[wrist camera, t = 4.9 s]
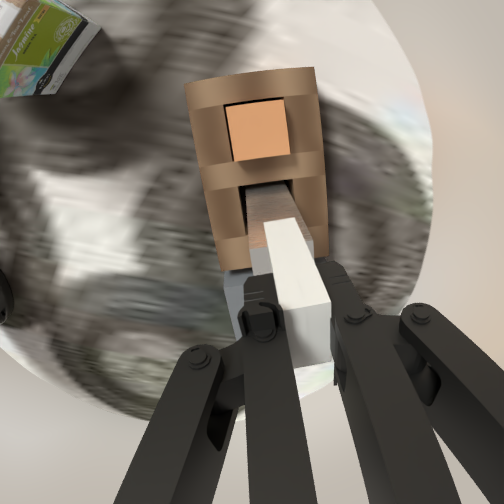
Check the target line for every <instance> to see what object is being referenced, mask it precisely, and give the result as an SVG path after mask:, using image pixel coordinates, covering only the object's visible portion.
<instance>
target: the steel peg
mask: <svg viewBox="0 0 504 504" xmlns="http://www.w3.org/2000/svg"><path fill="white" fill-rule="evenodd" d="M245 188H246V205H247V221H248V238H249V251H250V257H251V263H252V269H253V275H254V276H256V275H262V274H268V273H272V272H271V266H270V260H269V253H268V247H267V241H266V235H265V229H264V223H263V222H269V221H275V220H281V219H287V218H293V217H294V218H295V220H296V222H297V224H298V226H299V229H300V231H301V233H302V235H303V238H304V240H305V242H306V244H307V247H308V249H309V251H310V253H311V256H312V258H313V260H314V246H313V239H312V237H311V235H310V233H309V230H308V228H307V226H306V224H305V222H304V220H303V218H302V216H301V214H300V212H299V210H298V208H297V206H296V204H295V202H294V200H293V198H292V196H291V194H290V192H289V191H288V189H287V187H286V185H285V183H284V181H283V180H279V181H271V182H264V183H257V184H250V185H245Z"/></svg>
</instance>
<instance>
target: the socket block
mask: <svg viewBox="0 0 504 504" xmlns="http://www.w3.org/2000/svg"><path fill="white" fill-rule="evenodd" d="M184 88H185V94H186V100H187V105H188V111H189V116H190V122H191V127H192V133H193V138H194V143H195V148H196V154H197V159H198V164H199V169H200V174H201V179H202V184H203V189H204V194H205V199H206V203H207V208H208V213H209V218H210V222H211V227H212V232H213V236H214V241H215V245H216V250H217V254H218V259H219V263H220V268H221V271H229V270H236V269H243V268H250V267H252V263H251V257H250V251H249V238H248V221H245V217H244V211H243V205H242V199H241V193H240V187H239V186H243V185H250V184H257V183H264V182H271V181H279V180H286V179H288V185H289V192H290V194H291V196H292V198H293V200H294V202H295V204H296V206H297V208H298V210H299V212H300V214H301V216H302V218H303V220H304V222H305V224H306V226H307V228H308V230H309V233H310V235H311V237H312V239H313V246H314V258H319V257H325V256H329V237H328V211H327V192H326V177H325V163H324V150H323V139H322V129H321V119H320V110H319V101H318V93H317V85H316V78H315V70H314V67H301V68H287V69H275V70H265V71H257V72H249V73H241V74H235V75H228V76H222V77H216V78H211V79H205V80H200V81H195V82H190V83H186V84H184ZM274 97H279V100H284V107H285V114H286V122H287V130H288V138H289V147H290V154H287V155H279V156H271V157H263V158H256V159H249V160H242V161H236V162H235V161H234V155H233V150H232V144H231V138H230V132H229V126H228V120H227V114H226V108H225V104H229V103H236V102H242V101H250V100H257V99H265V98H274Z"/></svg>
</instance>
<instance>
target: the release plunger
mask: <svg viewBox="0 0 504 504" xmlns="http://www.w3.org/2000/svg"><path fill="white" fill-rule="evenodd" d="M226 112H227V118H228V124H229V130H230V136H231V142H232V149H233V155H234V161H235V162H236V161H242V160H249V159H256V158H263V157H271V156H279V155H287V154H290V147H289V138H288V130H287V122H286V114H285V107H284V100H272V101H264V102H256V103H248V104H241V105H235V106H228V107H226Z"/></svg>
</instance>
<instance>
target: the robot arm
mask: <svg viewBox="0 0 504 504" xmlns="http://www.w3.org/2000/svg"><path fill="white" fill-rule="evenodd" d="M263 223H264V229H265V235H266V241H267V247H268V253H269V260H270V266H271V272H272V273H268V274H262V275H256V276H250V277H248V278H247V280H246V281H245V283H244V285H243V290H244V306H243V307H242V308H241V309H240V311H239V312H238V316H237V319H238V323H239V326H240V330H241V334H242V337H241V338H240V339H239V340H238V341H237V342H235V343H234V344H232V345H230V346H228V347H226V348H223V349H221V350H218V349H216V348H215V347H213V346H211V345H206V344H204V345H196V346H193V347H191V348H189V349H187V350H186V351H185V352H183V354H182V355H181V356H180V358H179V359H178V362H177V364H176V366H175V368H174V370H173V372H172V374H171V376H170V379H169V381H168V383H167V385H166V387H165V389H164V391H163V394H162V396H161V398H160V400H159V402H158V404H157V407H156V409H155V411H154V413H153V415H152V418H151V420H150V422H149V424H148V427H147V428H146V431H145V433H144V435H143V437H142V440H141V442H140V444H139V446H138V449H137V451H136V453H135V455H134V457H133V460H132V462H131V464H130V467H129V469H128V471H127V473H126V476H125V478H124V480H123V483H122V485H121V487H120V489H119V491H118V494H117V496H116V498H115V501H114V503H113V504H212V501H213V498H214V495H215V491H216V488H217V484H218V481H219V478H220V474H221V471H222V467H223V464H224V460H225V456H226V453H227V449H228V446H229V442H230V439H231V435H232V431H233V428H234V424H235V420H236V417H237V413H238V409H239V407H240V406H242V405H245V415H246V436H247V457H248V479H249V498H250V504H318V503H317V498H316V491H315V485H314V480H313V474H312V469H311V462H310V457H309V451H308V446H307V440H306V434H305V428H304V423H303V418H302V412H301V407H300V401H299V396H298V391H297V385H296V380H295V375H294V369H293V368H299V367H304V366H310V365H315V364H320V363H325V362H330V361H331V353H332V356H333V360H334V385H337V383H338V386H339V390H340V394H341V397H342V401H343V404H344V407H345V411H346V415H347V418H348V422H349V425H350V429H351V433H352V436H353V440H354V444H355V447H356V451H357V455H358V459H359V463H360V467H361V470H362V475H363V478H364V482H365V487H366V491H367V495H368V499H369V504H461V501H460V498H459V495H458V492H457V490H456V487H455V484H454V481H453V478H452V476H451V473H450V470H449V468H448V465H447V462H446V460H445V457H444V455H443V452H442V450H441V447H440V445H439V442H438V440H437V438H436V435H435V433H434V431H433V428H434V430H435V431H436V432H437V434H438V435H439V436H440V437H441V438H442V440H443V441H444V443H445V444H446V445H447V446H448V448H449V449H450V450H451V452H452V453H453V454H454V456H455V457H456V458H457V459H458V461H459V462H460V463H461V465H462V466H463V467H464V469H465V470H466V471H467V473H468V474H469V475H470V477H471V478H472V479H473V480H474V482H475V483H476V485H477V486H478V487H479V489H480V490H481V491H482V493H483V494H484V496H485V497H486V498H487V500H488V501H489V502H490V504H504V371H503V370H502V369H501V368H500V367H499V366H498V365H497V364H496V363H495V362H494V361H493V360H492V359H491V358H490V357H489V356H488V355H487V354H486V353H485V352H483V351H482V350H481V349H480V348H479V347H478V346H477V345H476V344H474V342H473V341H472V340H470V339H469V338H468V337H467V336H466V335H465V334H464V333H463V332H462V331H460V330H459V329H458V328H457V327H456V326H455V325H454V324H452V323H451V322H450V321H449V320H448V319H447V318H446V317H444V316H443V315H442V314H441V313H440V312H439V311H438V310H436V309H435V308H434V307H432V306H430V305H428V304H424V303H413V304H410V305H408V306H406V307H405V308H404V309H403V311H402V313H401V316H390V315H380V314H376V312H375V311H374V310H373V309H372V307H370V306H368V305H366V304H363V302H362V300H361V298H360V297H359V295H358V293H357V291H356V289H355V287H354V285H353V284H352V282H351V280H350V278H349V276H347V273H346V271H345V269H344V268H343V266H341V265H340V264H338V263H337V262H335V261H331V262H326V263H320V264H315V263H314V260H313V258H312V256H311V253H310V251H309V249H308V247H307V244H306V242H305V240H304V238H303V235H302V233H301V231H300V229H299V226H298V224H297V222H296V220H295V218H294V217H293V218H287V219H281V220H275V221H269V222H263ZM12 311H13V296H12V292H11V289H10V287H9V284H8V282H7V280H6V278H5V276H4V275H3V273H2V272H1V270H0V325H1V324H2V323H4V322H5V321H6V320H7V318H8V317H9V316H10V314H11V313H12ZM432 427H433V428H432Z"/></svg>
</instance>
